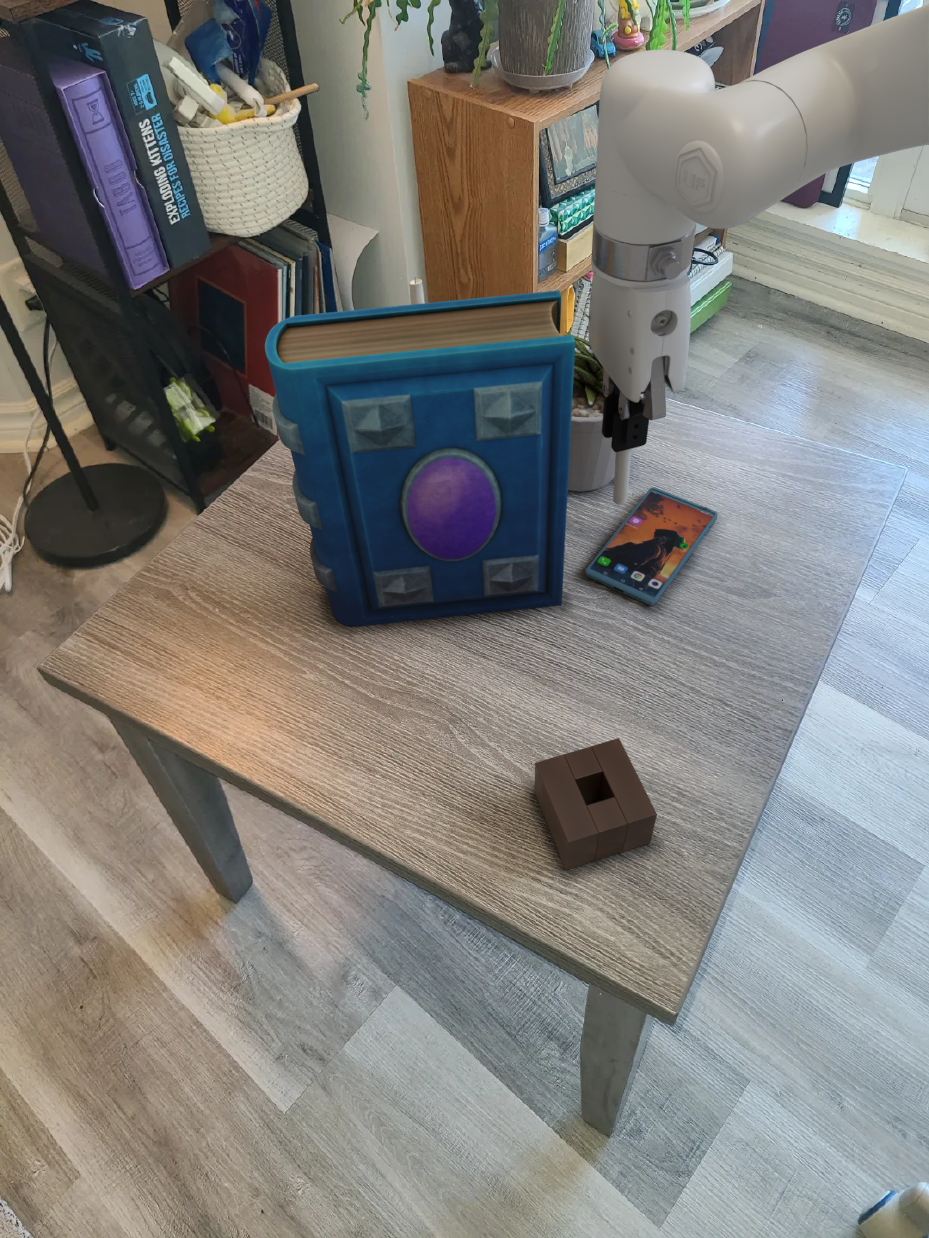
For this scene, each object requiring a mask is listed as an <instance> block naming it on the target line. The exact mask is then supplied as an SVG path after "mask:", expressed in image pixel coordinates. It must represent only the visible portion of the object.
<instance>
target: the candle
mask: <svg viewBox="0 0 929 1238" xmlns="http://www.w3.org/2000/svg"><path fill="white" fill-rule="evenodd" d="M409 298H410V305H413V304H423V303H426V302H425V293H424V286H423V280H422V279H420V278H416V276H414V279H412V280H411V281H409Z"/></svg>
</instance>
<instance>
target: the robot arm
mask: <svg viewBox="0 0 929 1238" xmlns="http://www.w3.org/2000/svg"><path fill="white" fill-rule="evenodd" d="M596 142H597V143H596V144H597V145H596V161H595V162H596V163H595V181H594V182H595V183H594V202H593V203H594V204H593V222H592V239H591V240H592V241H591V257H590V258H591V259H590V260H591V261H590V266H591V269H592V271H593V272H592V279H591V288H590V297H589V307H588V308H589V309H588V316H589V319H588V322H587V323H588V324H587V326H588V328H587V331H588V342H589V344H590V347H591V349H592V351H593V353H594V355H595V356H596V358H597V359H598V361H599V362H600V363H601V365H602V367H603V393H604V395H605V397H609V398H607V399H604V408H603V422H602V434H603V436H604V437H605V438H611V437H612V444H611V448H612V449H613V451H614V452H620V451H624V450H628V449H631V450H632V449H636V448H640V447H643V446H645V445H646V444H647V441H648V433H649V424H650V421H656V420H658V419H663V418H665V417H666V416H667V405H666V404H667V401H666V400H667V399H666V386H667V387H668V388H669V390H670V391H671V392H672V394H677V393H681V392H682V391H683V390H684V388H685V384H686V379H687V369H688V363H689V362H688V361H689V352H690V351H689V350H690V341H691V340H690V339H691V325H692V323H691V321H692V296H691V295H692V294H691V280H690V279H691V278H690V277H689V275H688V273H689V271H690V269H691V265H692V259H693V251H694V245H695V236H696V231H697V224H698V225H700V226H703V227H706V228H709V229H715V230H723V229H724V230H725V229H731V228H735V227H738V226H741V225H743V224H744V223H747V222H749V221H750V220H752V219H754V218H755V217H757V216H759V215H760V214H762V213H763V212H765V211H766V210H768V209H770V208H771V207H773V206H775V205H776V204H778V203H779V202H781V201H782V200H784V199H785V198H787V197H788V196H790V195H792V194H793V193H794V192H796V191H798V190H799V189H801V188H802V187H804V186H806V185H808V184H809V183H811V182H813V181H814V180H816V179H818V178H820V177H821V176H823V175H825V174H827V173H828V172H831V171H834V170H836V169H838V168H841V167H844V166H848V165H851V164H855V163H859V162H862V161H864V160H865V161H866V160H870V159H872V158H876V157H880V156H884V155H888V154H892V153H895V152H900V151H903V150H909V149H913V148H917V147H924V146H929V3H927V4H925V5H922V6H920V7H917V8H914V9H912V10H909V11H906V12H903V13H900V14H898V15H895V16H892V17H890V18H888V19H884V20H882V21H880V22H876V23H874V24H871V25H869V26H867V27H864V28H862V29H859V30H856V31H853V32H851V33H848V34H845V35H843V36H840V37H838V38H835V39H833V40H830V41H827V42H824V43H822V44H819V45H817V46H814V47H812V48H809V49H807V50H805V51H802V52H800V53H797V54H795V55H793V56H790V57H788V58H786V59H784V60H782V61H780V62H778V63H776V64H774V65H771V66H769V67H767V68H765V69H763V70H761V71H759V72H758V73H755V74H754V75H751V76H749V77H747V78H746V79H744V80H742V81H740V82H738V83H737V84H733V85H730V86H724V87H722V88H719V89H716V80H715V76H714V73H713V70H712V68H711V67H710V65H709V64H708V63H707V62H706V61H705V59H702V58H701V57H699V56H697V55H695V54H692V53H690V52H689V53H688V52H685V51H681V50H675V49H674V50H673V49H650V50H649V49H648V50H641V51H638V52H634V53H631V54H627V55H625V56H622V57H621V58H618V59H617V60H616V61H614V63H612V64H611V65H610V66H609V68H607V70H606V72H605V73H604V76H603V79H602V81H601V86H600V92H599V103H598V125H597V141H596ZM590 347H589V348H590ZM591 349H590V350H591ZM619 389H620V391H621V392H620V401H619ZM641 394H643V398H642V397H641V396H640V395H641ZM618 406H619V412H618Z"/></svg>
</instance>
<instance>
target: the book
mask: <svg viewBox="0 0 929 1238" xmlns="http://www.w3.org/2000/svg"><path fill="white" fill-rule="evenodd" d="M561 314H562V294H561V290H560V289H559V290H558V289H557V290H549V291H548V290H547V291H539V292H527V293H519V294H518V293H517V294H508V295H507V294H506V295H498V296H487V297H486V296H485V297H477V298H475V297H474V298H466V299H465V298H464V299H457V300H455V299H454V300H446V301H436V302H435V301H434V302H425V303H423V304H413V305H411V304H404V305H394V306H393V305H391V306H383V307H382V306H381V307H373V308H362V309H351V310H341V311H332V312H321V313H310V314H300V315H299V314H298V315H293V316H290V317H287V318H285V319H282V320H281V321H279V322H278V323H277V324H274V325H273V326H272V328H271V329H270V330H269V331H268V333H267V336H266V338H265V343H264V351H265V355H266V359H267V363H268V368H269V371H270V374H271V379H272V383H273V387H274V390H275V394H274V397H273V400H272V405H271V406H272V415H273V418H274V422H275V426H276V429H277V430H276V431H277V433H278V434H277V435H278V437H279V440H280V442H281V443H282V445H283V446H284V447H285V448H287V449H288V450H290V454H291V458H292V461H293V465H294V466H293V467H294V472H293V475H292V483H291V484H292V491H293V495H294V499H295V502H296V507H297V510H298V513H299V516H300V518H301V520H302V521H303V522H304V523H305V524H307V525H308V526H309V529H310V534H311V540H310V543H309V556H310V560H311V565H312V568H313V572H314V575H315V578H316V580H317V581H318V583H319V585H321V586H322V587H324V588H325V593H326V597H327V600H328V605H329V608H330V612H331V614H332V617H333V618H334V620H335V621H336V622H338V624H340V625H343V626H345V627H349V628H357V627H367V626H374V625H386V624H395V623H403V622H413V621H415V622H416V621H422V620H423V621H424V620H432V619H443V618H453V617H461V616H469V615H480V614H481V615H482V614H490V613H499V612H509V611H510V612H511V611H518V610H528V609H538V608H547V607H558V606H562V605H563V588H564V569H565V568H564V567H565V549H566V531H567V514H568V513H567V512H568V511H567V510H568V491H569V490H568V474H569V455H570V436H571V417H572V397H573V378H574V359H575V350H576V348H575V342H576V341H575V339H574V336H575V335H574V334H571V335H568V336H565V335H563V334H561V317H562V315H561Z"/></svg>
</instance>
